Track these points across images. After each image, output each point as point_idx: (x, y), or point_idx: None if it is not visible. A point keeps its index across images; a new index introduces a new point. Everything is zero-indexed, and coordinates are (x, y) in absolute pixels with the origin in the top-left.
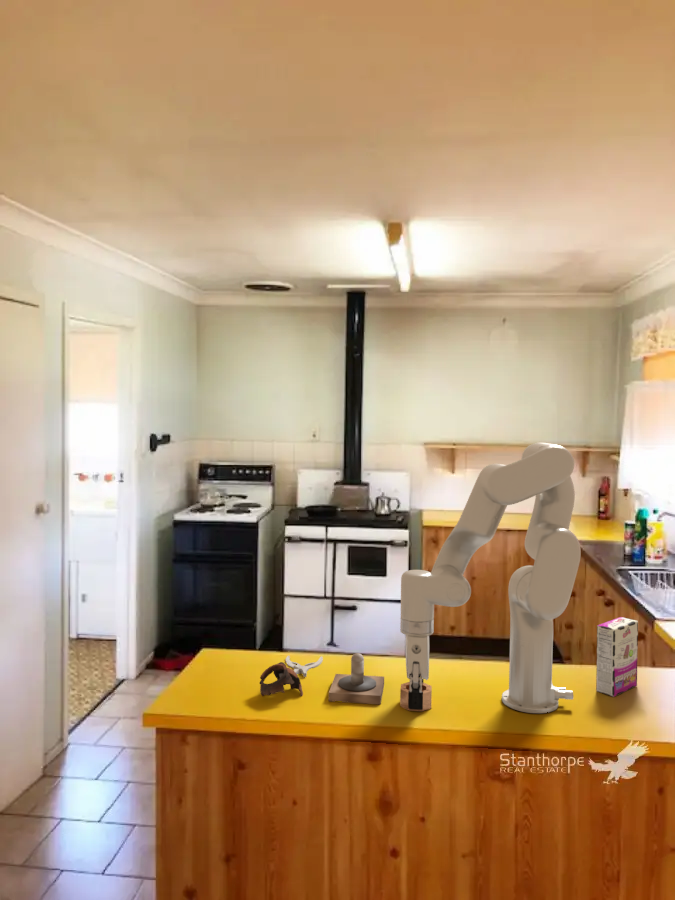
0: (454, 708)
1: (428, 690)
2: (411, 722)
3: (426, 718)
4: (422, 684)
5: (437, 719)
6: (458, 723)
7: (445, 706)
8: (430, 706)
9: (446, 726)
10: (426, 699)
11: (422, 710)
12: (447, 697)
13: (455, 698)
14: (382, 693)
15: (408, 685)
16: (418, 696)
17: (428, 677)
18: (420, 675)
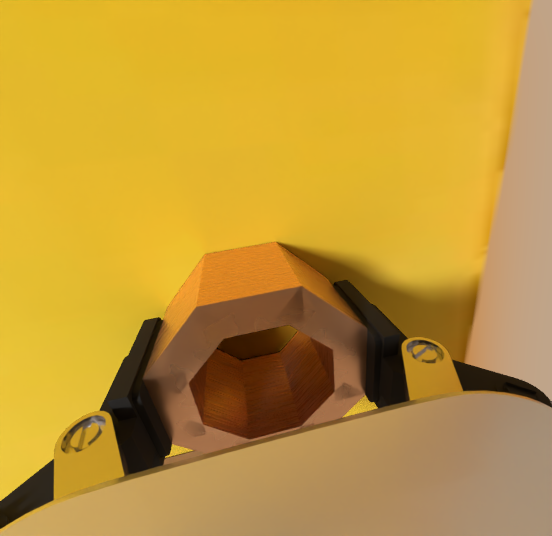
0: (232, 97)
1: (297, 307)
2: (436, 291)
3: (395, 242)
4: (192, 370)
5: (402, 187)
6: (448, 52)
7: (220, 165)
8: (282, 249)
9: (480, 128)
10: (321, 286)
11: (323, 276)
12: (55, 169)
13: (37, 102)
14: (185, 454)
15: (233, 429)
16: (402, 338)
17: (489, 403)
18: (120, 445)
